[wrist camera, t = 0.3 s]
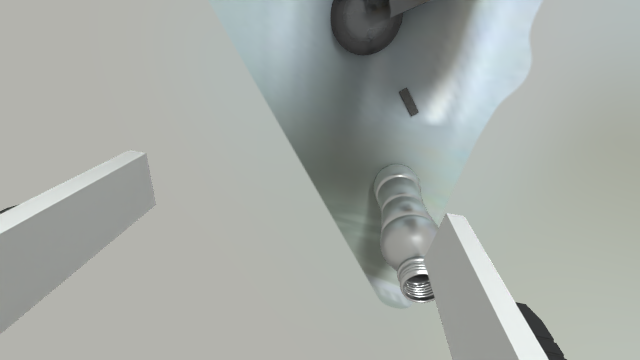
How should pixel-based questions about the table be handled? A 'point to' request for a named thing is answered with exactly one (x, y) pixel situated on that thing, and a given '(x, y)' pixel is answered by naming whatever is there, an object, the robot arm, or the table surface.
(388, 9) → the crank
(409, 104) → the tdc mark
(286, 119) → the table surface
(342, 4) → the crank base
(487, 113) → the table surface
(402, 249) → the plastic bottle
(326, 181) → the table surface
